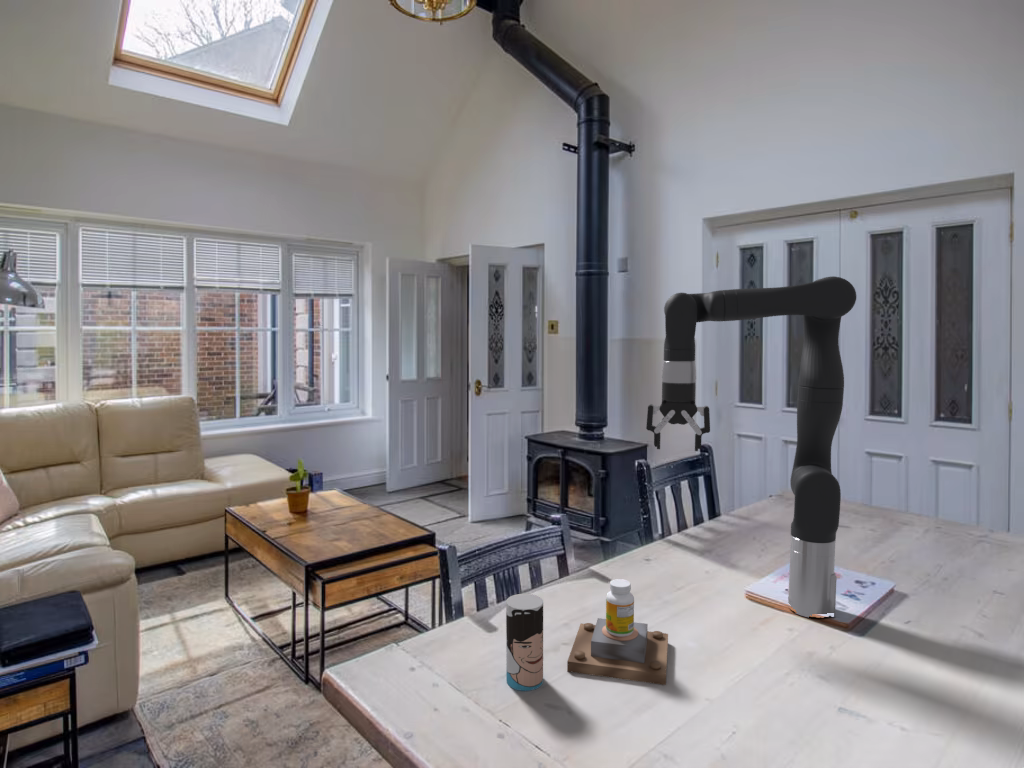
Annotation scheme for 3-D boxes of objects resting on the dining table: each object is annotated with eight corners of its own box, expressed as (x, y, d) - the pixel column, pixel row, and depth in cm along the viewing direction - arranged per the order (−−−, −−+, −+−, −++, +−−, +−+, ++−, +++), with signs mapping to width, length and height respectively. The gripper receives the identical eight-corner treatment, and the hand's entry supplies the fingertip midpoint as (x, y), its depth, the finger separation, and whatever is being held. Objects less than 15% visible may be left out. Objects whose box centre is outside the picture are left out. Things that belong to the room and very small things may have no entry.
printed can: (510, 693, 112) (510, 611, 111) (502, 673, 119) (502, 595, 118) (547, 688, 114) (547, 607, 113) (537, 668, 120) (537, 592, 119)
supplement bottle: (602, 625, 127) (603, 577, 126) (629, 623, 127) (630, 576, 127) (609, 638, 122) (610, 588, 121) (637, 636, 122) (637, 587, 121)
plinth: (667, 643, 130) (668, 618, 130) (665, 685, 115) (666, 657, 114) (580, 632, 135) (580, 608, 134) (567, 671, 119) (567, 644, 119)
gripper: (646, 381, 145) (645, 451, 146) (711, 382, 141) (710, 454, 143) (648, 378, 152) (647, 445, 153) (710, 379, 148) (708, 448, 150)
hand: (677, 449), depth 148 cm, fingers open, 8 cm apart
